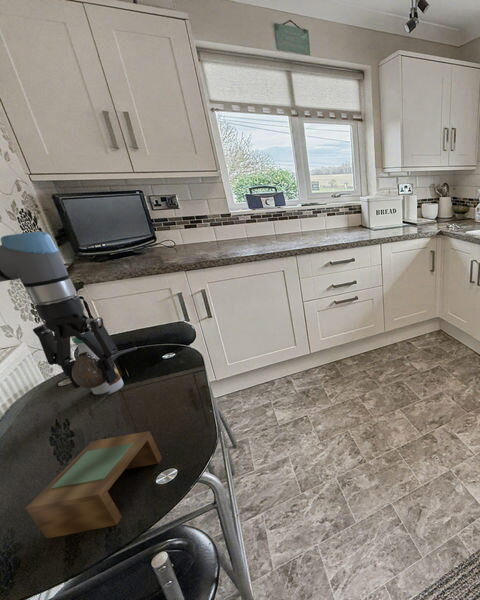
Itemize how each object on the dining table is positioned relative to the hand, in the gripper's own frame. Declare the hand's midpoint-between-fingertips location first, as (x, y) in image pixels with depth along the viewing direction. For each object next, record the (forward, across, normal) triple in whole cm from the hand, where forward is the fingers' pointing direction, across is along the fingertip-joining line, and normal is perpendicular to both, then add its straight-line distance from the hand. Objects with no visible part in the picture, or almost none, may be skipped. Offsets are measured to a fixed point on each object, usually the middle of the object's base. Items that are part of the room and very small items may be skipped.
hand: (96, 382), depth 84 cm
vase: (+1, 0, 0) cm, 1 cm away
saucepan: (+14, +26, -36) cm, 46 cm away
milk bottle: (+14, +16, -21) cm, 30 cm away
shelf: (+14, -14, +24) cm, 31 cm away
